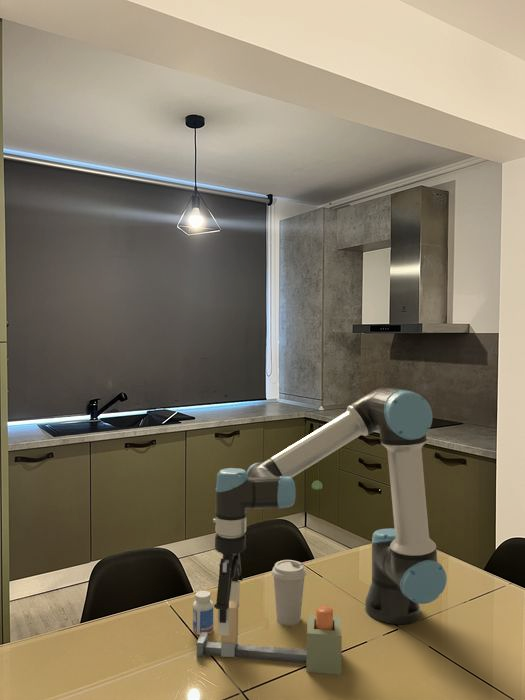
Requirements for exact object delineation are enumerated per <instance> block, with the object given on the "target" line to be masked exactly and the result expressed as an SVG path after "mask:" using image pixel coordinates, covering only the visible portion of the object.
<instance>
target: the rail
mask: <svg viewBox="0 0 525 700" xmlns="http://www.w3.org/2000/svg"><path fill="white" fill-rule="evenodd" d="M221 643H222V642H216V641H209V634H208V632H201V634H200V635H199V636H198V639H197V642H196V658H198V659H204V657H205V656H210V657H213V656H214V657H224V658H226V657H225V656H221ZM232 658H234V659H235V658H236V659H245V660H246V659H247V660H260V661H272V662H282V663H283V662H284V663H293V664H294V663H295V664H306V658H307V649H303V648H291V647H277V646H266V645H253V644H252V645H251V644H240V643H239V644H238V643H237V644H236V647H235V656H234V657H232Z"/></svg>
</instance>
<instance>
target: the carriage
mask: <svg viewBox="0 0 525 700" xmlns="http://www.w3.org/2000/svg"><path fill="white" fill-rule="evenodd" d="M229 606H230V626H229V636H225V635H220V643H221V656H225V657H224V658H233V657H234V656H235V647H236V644H238V638H239V608H238V601H229ZM221 656H220V657H221Z"/></svg>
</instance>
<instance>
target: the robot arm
mask: <svg viewBox="0 0 525 700" xmlns="http://www.w3.org/2000/svg"><path fill="white" fill-rule="evenodd" d="M432 423H433V411H432V408H431V406H430V404H429V403H428V401H427V400H426V398H424V397H423V396H422V395H420V394H419V393H416V392H414V391H412V390H409V389H401V388H394V387H389V386H388V387H387V386H385V387H380V388H377V389H375V390H372V391H371V392H369V393H368V394H366V395H364V396H362V397H361V398H359V399H358V400H356V401H355V402H353V403H351V404H349V405H348V406H347V408H346V411H345V412H343V413H341V414H340V415H338V416H337V417H335V418H334V419H332V420H330V421H329V422H327V423H326V424H324V425H323V426H320V427H319V428H317V429H315V430H314V431H313V432H311V433H310V434H308V435H306V436H305V437H303V438H302V439H300V440H298V441H296V442H295V443H293V444H292V445H289V446H288V447H287V448H285V449H283V450H282V451H280V452H279V453H277V454H275V455H273V456H272V457H269V458H268V459H267V460H265V461H262V462H255V463H253V464H251V465H250V466H249V467H248V469H246V470H247V471H246V470H245V469H244V468H239V467H238V468H237V467H236V468H235V467H228V468H226V467H225V468H222V469H220V470H219V471H218V472H217V474H216V482H215V483H216V486H215V518H213V519H212V521H213V523H214V524H215V530H214V531H215V534H214V549H215V551H216V552H218V553H221V554H222V557H221V558H220V562H219V575H218V583H217V585H218V586H217V594H216V603H213V609H214V608H215V609H216V610H217V625H216V627H217V629H216V630H217V631H216V634H217V636H221V635H225V636H229V626H230V606H229V601H238V609H239V608H240V593H241V592H240V588H241V587H240V586H241V581H244V579H243V578H244V576H243V575H241V574H242V566H241V555H240V554H241V553H242V552H244V551H245V550H246V547H247V546H246V543H247V542H246V541H247V537H246V536H247V535H246V532H247V509H248V510H250V509H251V510H253V509H284V508H291V507H292V506H294V504H295V501H296V497H297V495H296V490H297V489H296V484H295V480H294V479H293V478H294V477H295V476H297V475H298V474H300V473H301V472H303V471H305V470H307V469H308V468H310V467H312V466H313V465H315V464H316V463H319V462H320V461H321V460H323V459H325V458H326V457H328V456H329V455H331V454H332V453H334V452H336V451H337V450H339V449H341V448H343V447H344V446H345V445H347V444H349V443H350V442H353V441H354V440H355V439H357V438H358V437H360V436H365V437H367V436H369V435H370V434H372V433H374V432H376V431H379V437H380V445H382V446H383V447H384V448H386V450H387V460H388V461H387V462H388V471H389V473H388V474H389V483H390V493H391V502H392V503H391V504H392V515H393V525H394V526H393V527H394V528H390V527H389V528H380V529H377V530H375V531H374V532H373V533H372V538H371V539H372V540H371V583H370V587H369V589H368V592H367V595H366V597H365V604H364V605H365V607H364V608H365V612H366V613H367V614H368V616H370V617H372V618H373V619H375V620H377V621H380V622H383V623H385V624H391V625H406V624H411V623H414V622H416V621H417V620H419V618H420V616H421V615H420V614H421V609H420V605H423V604H431V603H432V602H435V601H436V600H437V599H438V598H439V597H440V595H442V594H443V592H444V591H445V588H446V585H447V580H448V579H447V571H446V570H445V568H444V567H443V565H442V564H441V563H440V562H439V560H438V553H437V544H436V543H435V542H434V540H432V539H431V538H430V532H429V522H428V521H429V520H428V509H427V498H426V486H425V476H424V475H425V474H424V463H423V452H422V448H423V447H424V445H426V443H427V441H428V439H427V433H428V432H429V429H430V428H431V427H432Z"/></svg>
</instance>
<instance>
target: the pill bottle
mask: <svg viewBox="0 0 525 700" xmlns="http://www.w3.org/2000/svg"><path fill="white" fill-rule="evenodd" d="M194 600H195V601H193V603H192V631H193V633H194V634H196V635H197V636H200V634H201V632H208V635H209V634H212V633H213V631H214V602H213V601H212V600H211V592H210V591H208V590H198V591H197V592H196V593H195V599H194Z"/></svg>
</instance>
